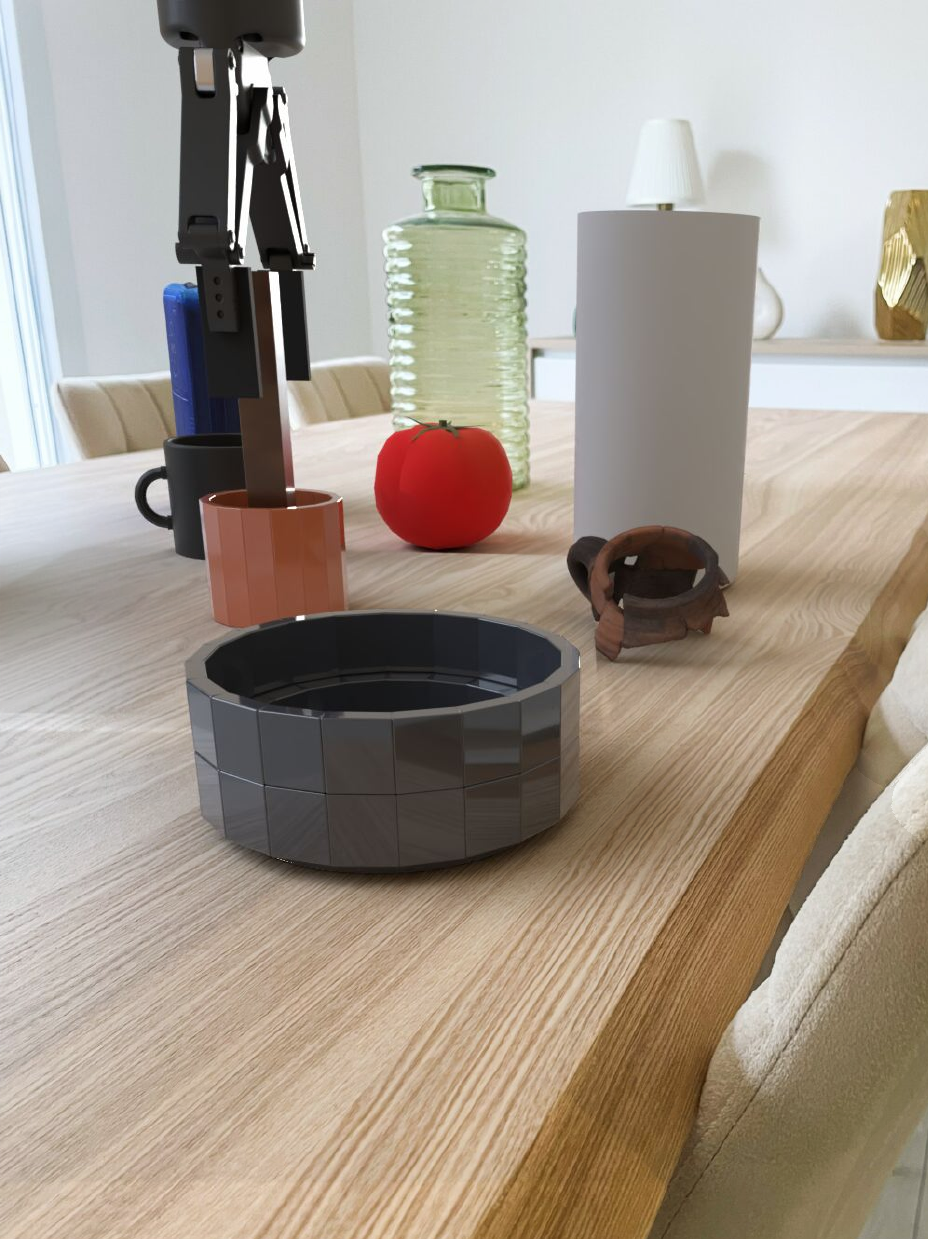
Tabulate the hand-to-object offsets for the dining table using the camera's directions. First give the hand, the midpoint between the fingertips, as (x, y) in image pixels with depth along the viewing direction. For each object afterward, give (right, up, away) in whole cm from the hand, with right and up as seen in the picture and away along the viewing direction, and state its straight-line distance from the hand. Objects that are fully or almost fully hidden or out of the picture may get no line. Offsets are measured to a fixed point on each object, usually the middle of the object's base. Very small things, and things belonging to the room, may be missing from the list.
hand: (265, 389), depth 72 cm
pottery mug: (+23, -15, +4) cm, 27 cm away
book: (-17, +3, +43) cm, 46 cm away
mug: (-10, -5, +24) cm, 26 cm away
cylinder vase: (+24, -8, +20) cm, 32 cm away
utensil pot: (-1, -13, +6) cm, 14 cm away
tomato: (+7, -3, +31) cm, 32 cm away
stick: (0, -12, +5) cm, 14 cm away
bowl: (+11, -25, -21) cm, 34 cm away
